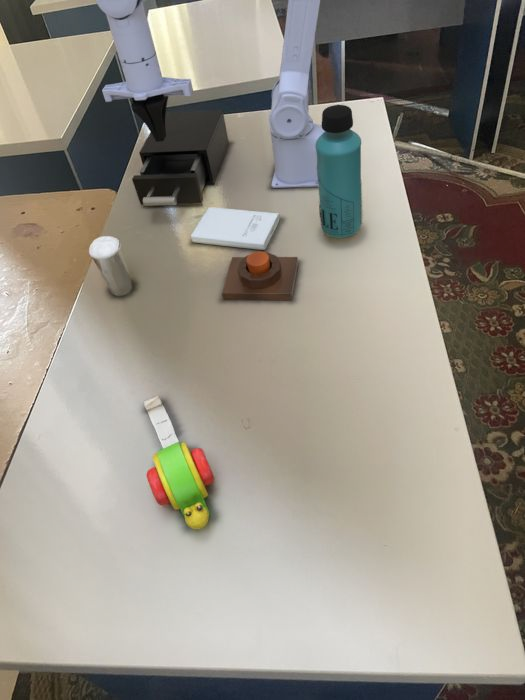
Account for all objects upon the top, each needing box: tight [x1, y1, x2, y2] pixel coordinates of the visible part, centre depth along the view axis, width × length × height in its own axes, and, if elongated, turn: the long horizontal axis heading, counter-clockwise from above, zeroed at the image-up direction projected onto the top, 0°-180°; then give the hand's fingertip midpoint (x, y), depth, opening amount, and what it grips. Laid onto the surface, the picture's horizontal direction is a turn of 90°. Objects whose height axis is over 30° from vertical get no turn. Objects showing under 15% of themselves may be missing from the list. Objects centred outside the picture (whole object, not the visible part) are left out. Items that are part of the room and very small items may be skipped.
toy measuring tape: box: [143, 395, 215, 530], centre depth 62 cm, size 6×20×7 cm, turn 24°
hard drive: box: [190, 206, 281, 251], centre depth 92 cm, size 2×8×12 cm
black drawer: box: [131, 154, 208, 207], centre depth 100 cm, size 18×11×5 cm, turn 171°
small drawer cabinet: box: [138, 109, 230, 186], centre depth 106 cm, size 14×12×7 cm
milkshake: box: [88, 235, 133, 297], centre depth 83 cm, size 4×5×10 cm
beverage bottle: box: [315, 104, 364, 239], centre depth 81 cm, size 6×7×20 cm
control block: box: [221, 251, 299, 301], centre depth 83 cm, size 10×8×3 cm
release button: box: [247, 250, 270, 274], centre depth 81 cm, size 3×3×2 cm
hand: (161, 138), depth 97 cm, fingers closed
